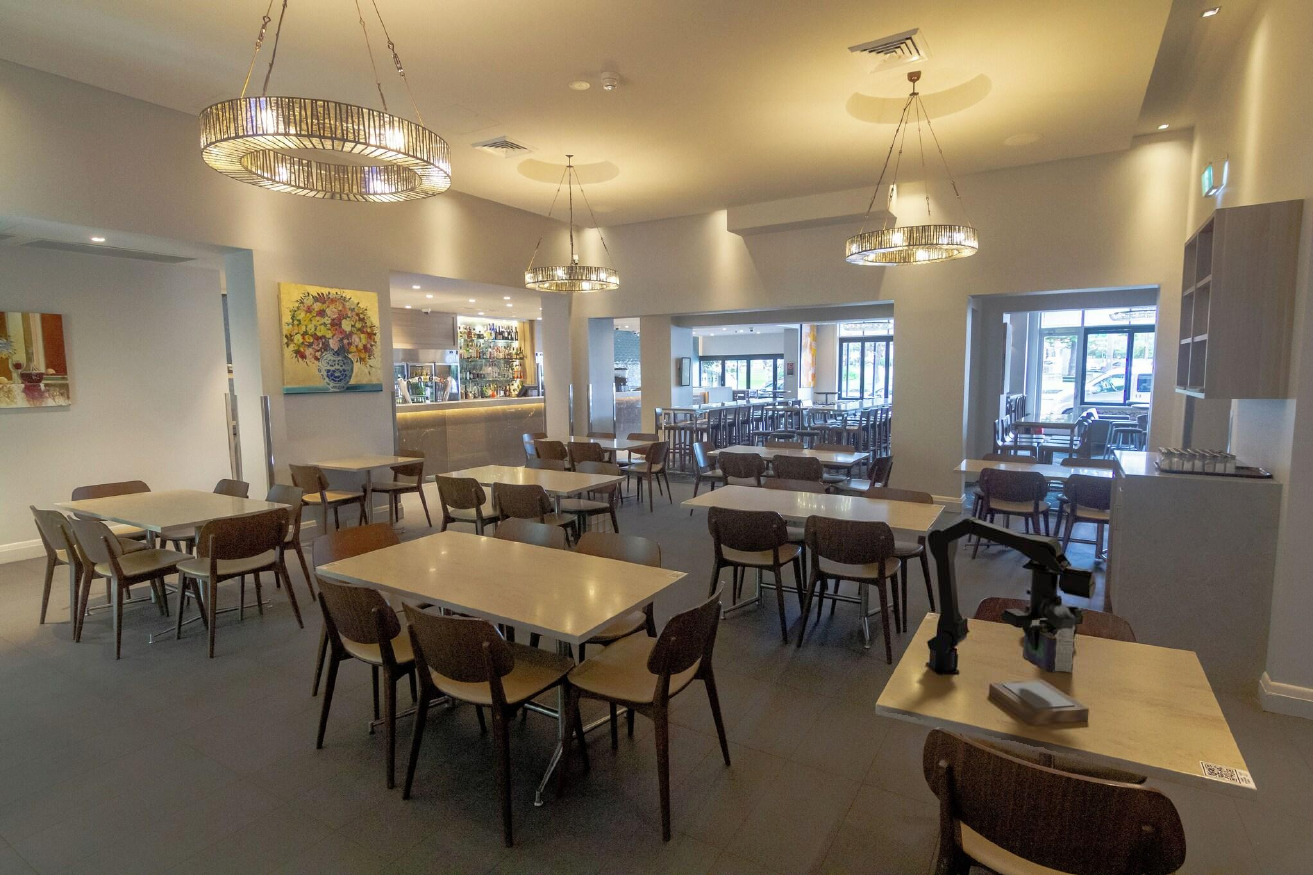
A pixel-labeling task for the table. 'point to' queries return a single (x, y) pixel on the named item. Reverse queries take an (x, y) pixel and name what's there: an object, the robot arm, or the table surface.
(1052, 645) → the flask
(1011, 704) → the walnut plinth
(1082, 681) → the table surface
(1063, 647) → the candy bar box
